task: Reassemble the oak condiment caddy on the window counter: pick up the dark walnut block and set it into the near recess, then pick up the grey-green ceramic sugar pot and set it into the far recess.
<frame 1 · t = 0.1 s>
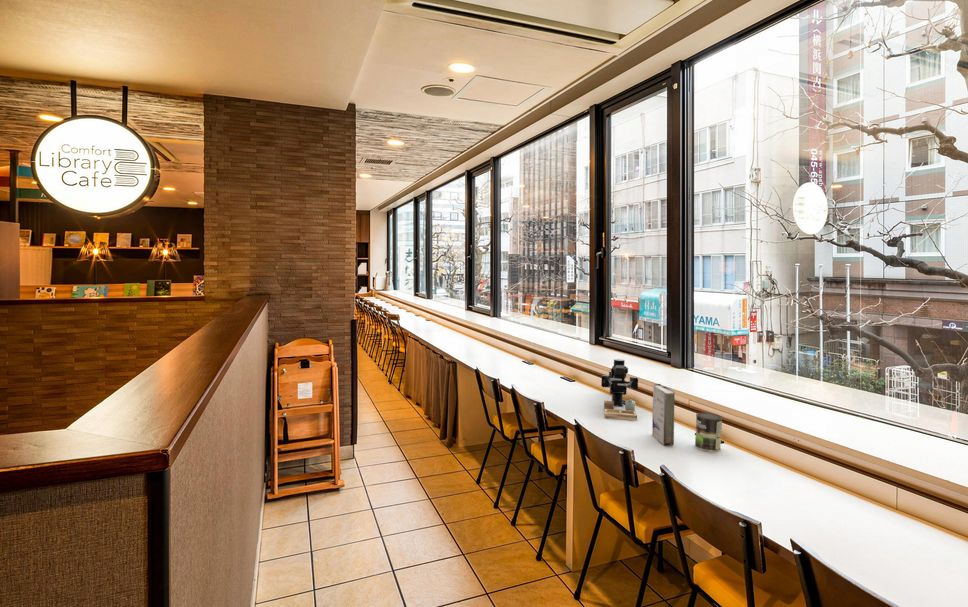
hand: (620, 385, 262), 17 cm above the table, tool horizontal, fingers open, 9 cm apart
book: (662, 440, 229), on the table
caddy base: (620, 416, 264), on the table
coffee can: (707, 448, 220), on the table
walnut block: (608, 411, 275), on the table
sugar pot: (629, 412, 273), on the table
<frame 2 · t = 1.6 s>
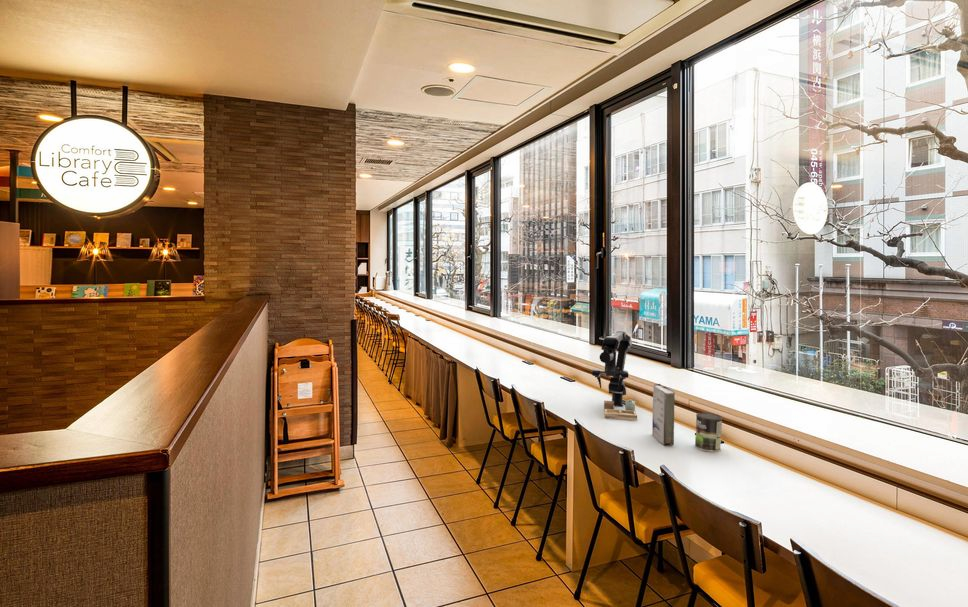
hand: (609, 389, 274), 12 cm above the table, tool pointing down, fingers open, 9 cm apart
nothing on the table moved.
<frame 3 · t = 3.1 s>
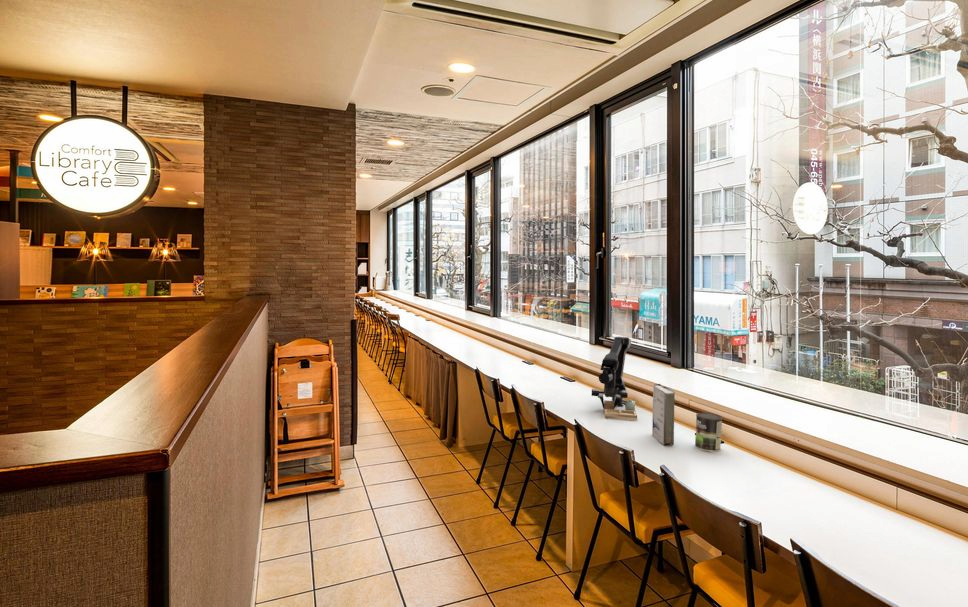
hand: (608, 408, 275), 1 cm above the table, tool pointing down, fingers closed on walnut block, 5 cm apart
walnut block: (608, 410, 275), on the table, touching gripper
everything else where it was.
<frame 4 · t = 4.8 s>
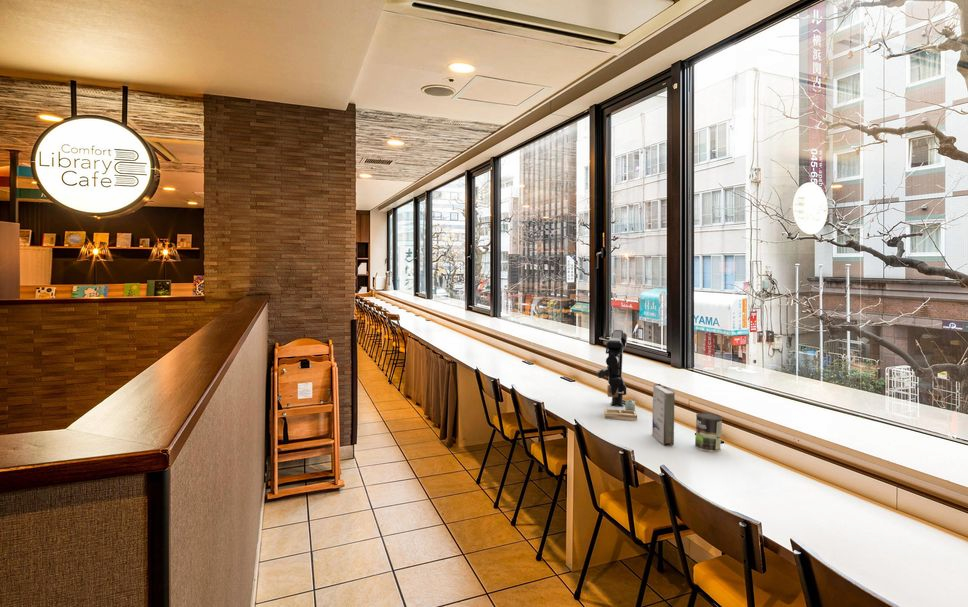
hand: (612, 394, 265), 12 cm above the table, tool pointing down, fingers closed on walnut block, 5 cm apart
walnut block: (612, 395, 265), point 11 cm above the table, touching gripper
everything else where it was.
when the fingers open (4 cm above the table, at t = 6.6 s): walnut block drops 1 cm, resting on caddy base.
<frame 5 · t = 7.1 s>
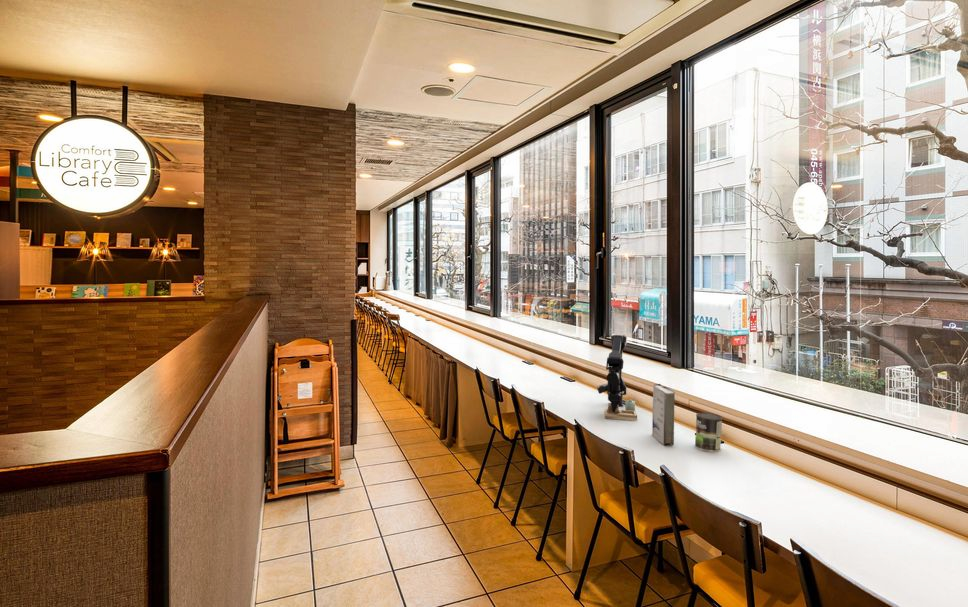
hand: (613, 409, 265), 4 cm above the table, tool pointing down, fingers open, 9 cm apart
walnut block: (612, 413, 265), point 1 cm above the table, touching caddy base
everything else where it was.
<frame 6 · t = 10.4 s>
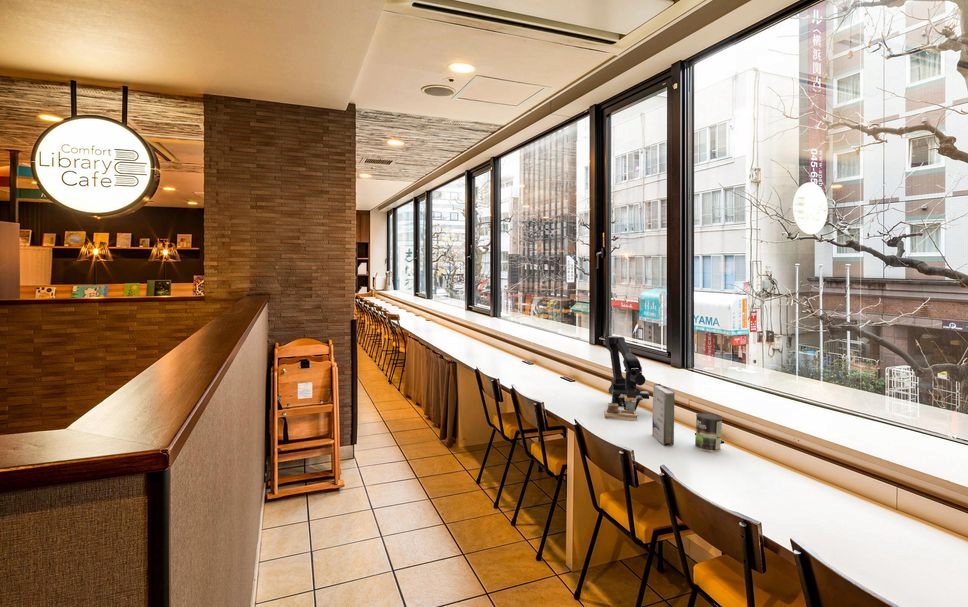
hand: (629, 410, 273), 1 cm above the table, tool pointing down, fingers closed on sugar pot, 5 cm apart
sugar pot: (629, 412, 273), on the table, touching gripper
everything else where it was.
when the fingers open (4 cm above the table, at t = 13.6 s): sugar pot drops 1 cm, resting on caddy base.
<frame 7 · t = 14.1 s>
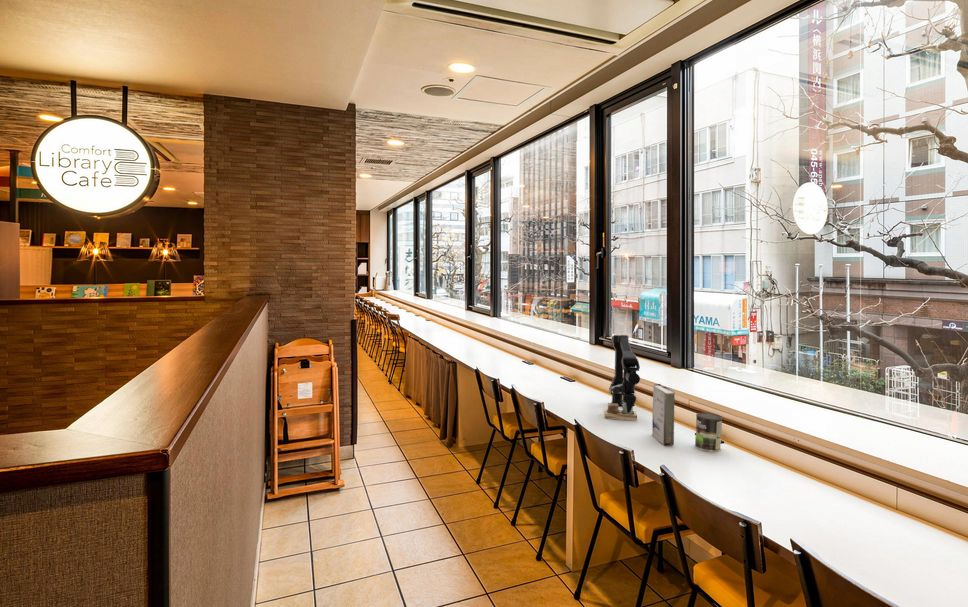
hand: (627, 410, 263), 4 cm above the table, tool pointing down, fingers open, 9 cm apart
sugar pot: (627, 415, 264), point 1 cm above the table, touching caddy base
everything else where it was.
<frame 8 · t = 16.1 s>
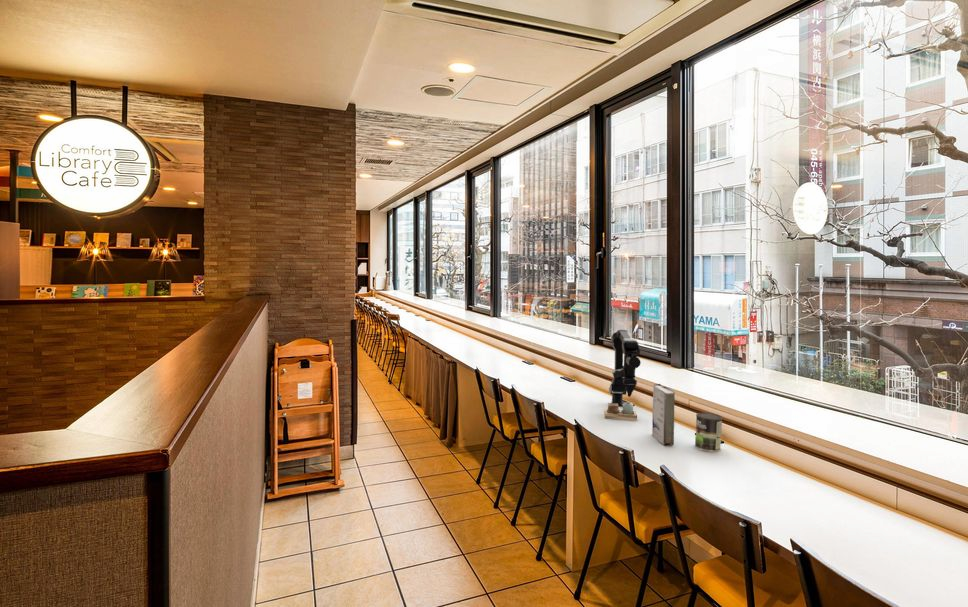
hand: (628, 394, 263), 12 cm above the table, tool pointing down, fingers open, 9 cm apart
nothing on the table moved.
at the end: walnut block 0.1 cm from the target spot on the caddy base, point 1.2 cm above the caddy base's base; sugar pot 0.1 cm from the target spot on the caddy base, point 1.2 cm above the caddy base's base; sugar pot tilted 0° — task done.
